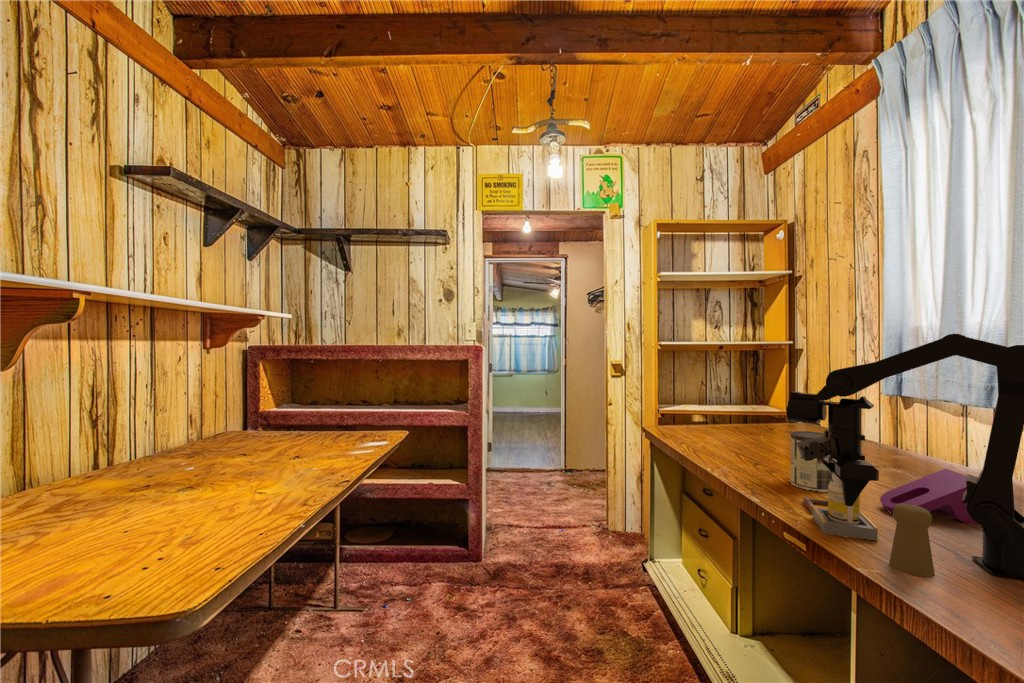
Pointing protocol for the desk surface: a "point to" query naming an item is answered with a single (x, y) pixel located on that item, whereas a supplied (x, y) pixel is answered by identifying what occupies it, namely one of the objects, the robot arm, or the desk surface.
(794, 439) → the coffee can
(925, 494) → the mounting bracket
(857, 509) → the supplement bottle
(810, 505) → the frame
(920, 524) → the cork
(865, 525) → the socket plate
